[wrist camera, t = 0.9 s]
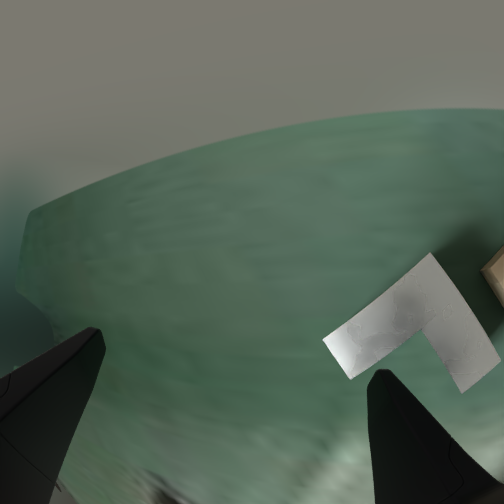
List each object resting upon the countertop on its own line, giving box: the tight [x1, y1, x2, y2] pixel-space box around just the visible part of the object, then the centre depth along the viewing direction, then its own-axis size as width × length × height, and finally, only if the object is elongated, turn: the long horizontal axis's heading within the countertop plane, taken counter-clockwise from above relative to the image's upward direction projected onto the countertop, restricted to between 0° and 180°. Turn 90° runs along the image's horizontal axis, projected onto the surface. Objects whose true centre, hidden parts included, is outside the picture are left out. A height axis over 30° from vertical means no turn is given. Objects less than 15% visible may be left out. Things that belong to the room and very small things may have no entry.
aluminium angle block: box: [323, 253, 501, 393], centre depth 16 cm, size 8×8×5 cm
